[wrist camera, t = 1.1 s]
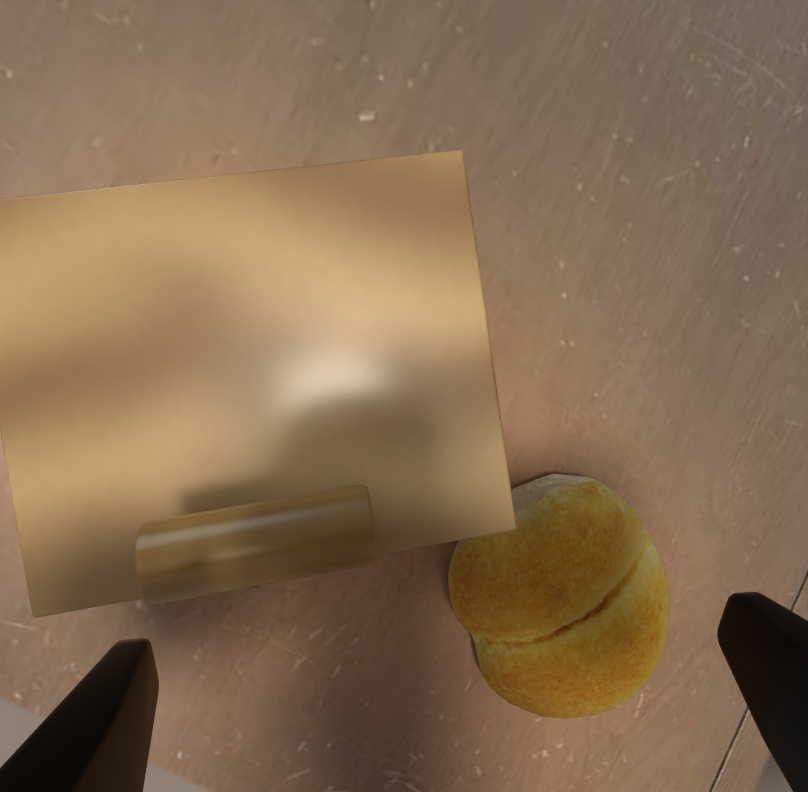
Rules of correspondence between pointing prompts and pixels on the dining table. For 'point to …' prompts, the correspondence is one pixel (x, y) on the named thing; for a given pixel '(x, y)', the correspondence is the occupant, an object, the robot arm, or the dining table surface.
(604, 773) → the dining table surface
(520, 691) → the bread roll
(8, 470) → the box door
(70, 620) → the dining table surface
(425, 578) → the dining table surface
